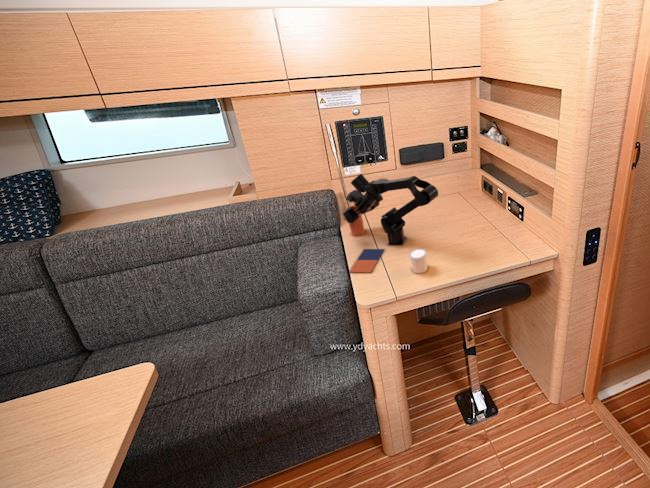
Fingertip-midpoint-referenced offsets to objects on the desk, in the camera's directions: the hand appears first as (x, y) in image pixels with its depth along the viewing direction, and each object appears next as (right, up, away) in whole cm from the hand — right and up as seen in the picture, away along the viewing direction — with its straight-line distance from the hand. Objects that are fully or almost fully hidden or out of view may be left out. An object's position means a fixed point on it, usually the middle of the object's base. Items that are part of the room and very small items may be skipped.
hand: (354, 217), depth 158 cm
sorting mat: (+11, -16, -20) cm, 28 cm away
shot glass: (+33, -17, -28) cm, 47 cm away
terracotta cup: (+1, -7, +3) cm, 8 cm away
